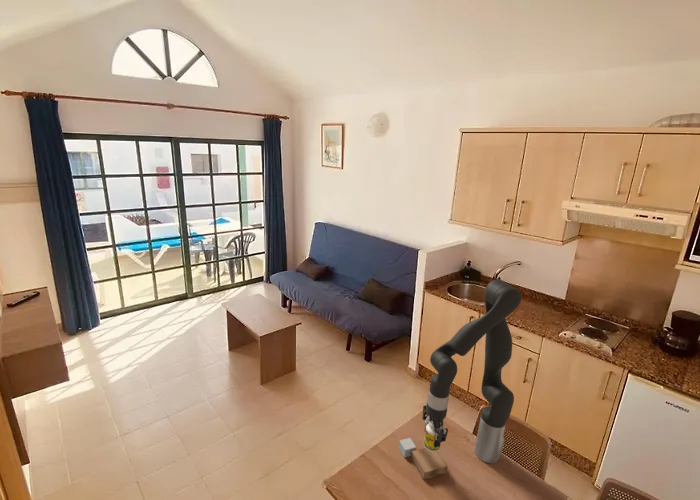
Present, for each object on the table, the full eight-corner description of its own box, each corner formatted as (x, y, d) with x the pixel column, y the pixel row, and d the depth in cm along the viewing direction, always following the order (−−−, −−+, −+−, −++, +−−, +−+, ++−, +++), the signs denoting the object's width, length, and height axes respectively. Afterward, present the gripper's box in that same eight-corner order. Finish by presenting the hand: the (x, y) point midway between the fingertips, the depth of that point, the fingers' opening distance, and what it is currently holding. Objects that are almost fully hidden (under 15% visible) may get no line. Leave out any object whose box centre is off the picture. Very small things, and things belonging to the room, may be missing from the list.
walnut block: (432, 452, 147) (433, 445, 146) (446, 473, 138) (447, 466, 137) (410, 458, 144) (411, 451, 143) (423, 479, 135) (424, 472, 134)
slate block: (409, 445, 151) (410, 437, 149) (415, 454, 146) (416, 447, 145) (398, 448, 149) (399, 440, 148) (404, 458, 144) (405, 450, 143)
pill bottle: (420, 442, 140) (423, 418, 137) (432, 437, 143) (436, 414, 139) (430, 454, 135) (434, 430, 131) (443, 449, 137) (447, 425, 134)
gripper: (457, 414, 127) (450, 452, 132) (436, 388, 141) (430, 423, 145) (439, 418, 125) (432, 456, 130) (418, 391, 138) (414, 427, 143)
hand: (431, 439), depth 138 cm, fingers closed on pill bottle, 6 cm apart
